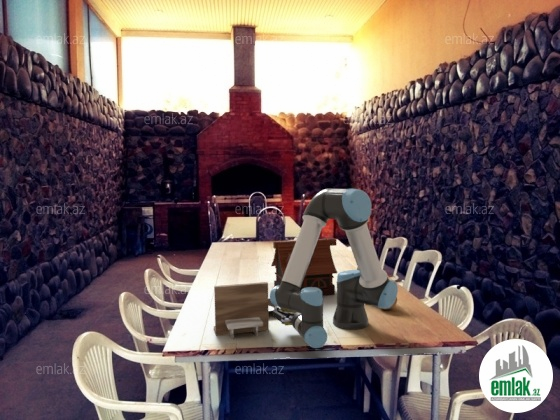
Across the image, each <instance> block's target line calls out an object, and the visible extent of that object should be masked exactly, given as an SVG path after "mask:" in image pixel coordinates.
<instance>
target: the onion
mask: <svg viewBox="0 0 560 420" xmlns="http://www.w3.org/2000/svg"><path fill="white" fill-rule="evenodd" d="M397 303H398V297H396V300H395V302H394V304H393V305H392V306H391V307H390V308H387V309H384V308H380V309H381V310H385V311H386V310H392V309H394V308H395V307H396V305H397Z"/></svg>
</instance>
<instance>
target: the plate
mask: <svg viewBox="0 0 560 420" xmlns="http://www.w3.org/2000/svg"><path fill="white" fill-rule="evenodd" d="M268 307H272V308H273V310H275V305H273V304H272V303H271V301H270V297H268ZM273 310H268V313H271V312H272V313H273Z"/></svg>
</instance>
